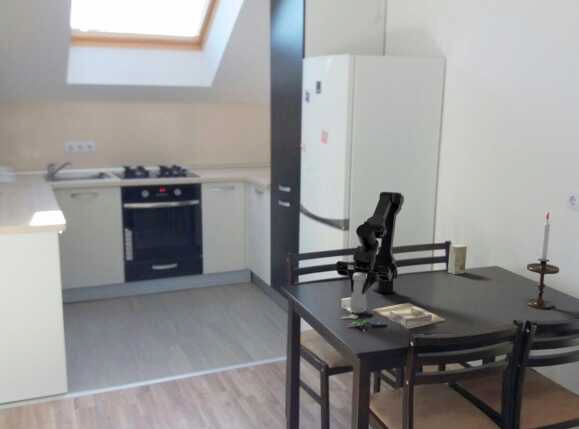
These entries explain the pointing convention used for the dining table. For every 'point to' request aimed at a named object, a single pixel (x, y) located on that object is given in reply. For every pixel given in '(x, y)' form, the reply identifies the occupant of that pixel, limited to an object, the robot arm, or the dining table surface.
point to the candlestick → (542, 271)
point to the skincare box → (457, 259)
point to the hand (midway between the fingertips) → (357, 293)
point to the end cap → (346, 304)
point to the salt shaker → (358, 293)
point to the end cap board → (408, 315)
